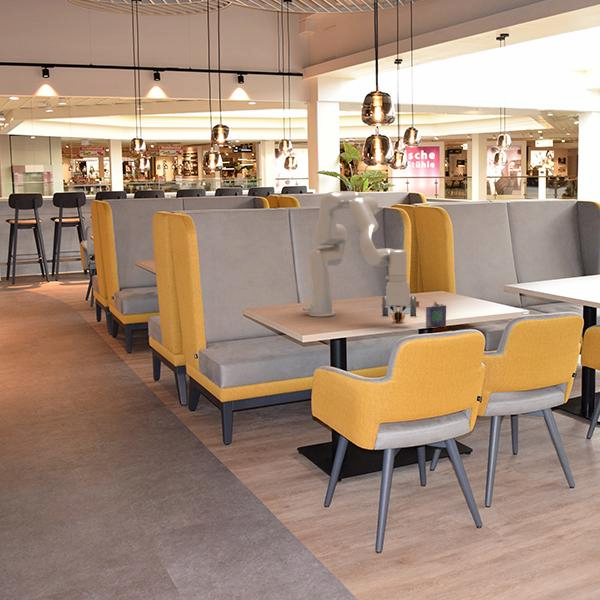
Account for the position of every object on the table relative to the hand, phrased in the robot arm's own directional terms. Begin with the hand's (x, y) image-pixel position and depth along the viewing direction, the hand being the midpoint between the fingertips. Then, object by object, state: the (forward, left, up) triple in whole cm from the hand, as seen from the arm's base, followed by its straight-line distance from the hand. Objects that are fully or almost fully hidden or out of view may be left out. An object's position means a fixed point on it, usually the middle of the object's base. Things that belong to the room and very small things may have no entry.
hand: (398, 321), depth 338 cm
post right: (+6, +26, -2) cm, 26 cm away
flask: (+16, +1, -2) cm, 16 cm away
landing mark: (0, +40, -2) cm, 40 cm away
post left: (-7, +26, -2) cm, 27 cm away
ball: (0, +10, +1) cm, 10 cm away
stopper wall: (0, +54, -2) cm, 54 cm away
